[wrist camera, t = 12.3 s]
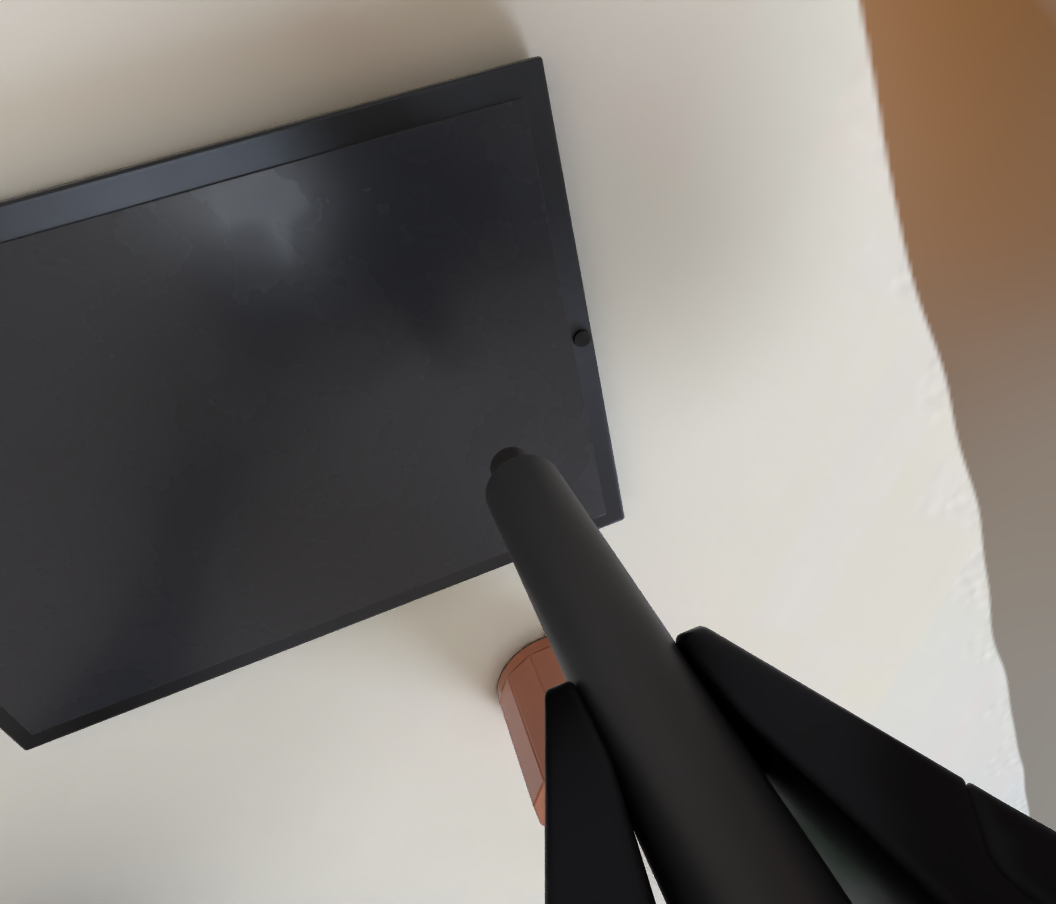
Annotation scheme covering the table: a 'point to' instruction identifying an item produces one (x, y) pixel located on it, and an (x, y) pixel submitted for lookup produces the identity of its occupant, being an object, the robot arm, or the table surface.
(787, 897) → the stylus
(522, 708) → the pen cup
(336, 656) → the table surface
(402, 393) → the tablet
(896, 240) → the table surface
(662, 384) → the table surface
